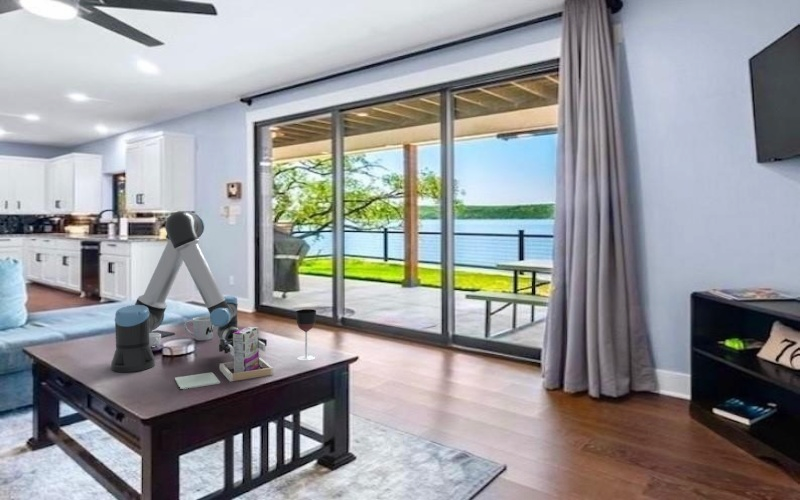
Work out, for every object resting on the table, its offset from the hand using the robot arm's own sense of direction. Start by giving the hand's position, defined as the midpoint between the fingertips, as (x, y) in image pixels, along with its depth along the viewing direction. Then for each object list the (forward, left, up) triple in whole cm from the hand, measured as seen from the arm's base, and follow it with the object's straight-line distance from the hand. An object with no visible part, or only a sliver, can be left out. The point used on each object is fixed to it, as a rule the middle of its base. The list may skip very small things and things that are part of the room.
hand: (249, 349), depth 187 cm
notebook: (-26, +83, -10) cm, 88 cm away
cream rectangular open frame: (0, +4, -9) cm, 10 cm away
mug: (-5, +69, -10) cm, 70 cm away
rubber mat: (-18, +2, -9) cm, 21 cm away
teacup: (-26, +63, -10) cm, 69 cm away
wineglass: (+27, +11, -10) cm, 31 cm away
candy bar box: (0, +4, -10) cm, 11 cm away
